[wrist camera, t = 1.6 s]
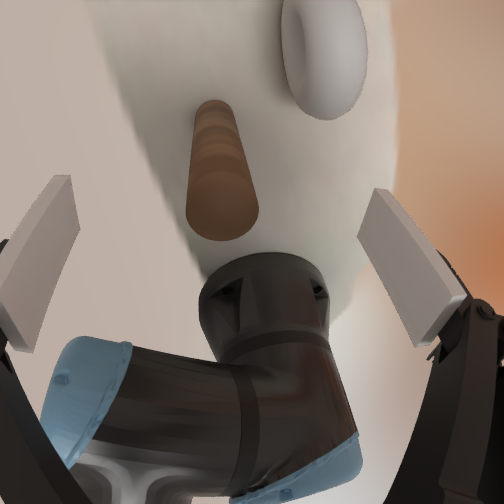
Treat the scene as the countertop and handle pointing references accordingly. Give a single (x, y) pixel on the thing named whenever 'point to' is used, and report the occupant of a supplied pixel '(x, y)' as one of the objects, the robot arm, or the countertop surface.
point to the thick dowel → (219, 177)
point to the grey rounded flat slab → (324, 54)
